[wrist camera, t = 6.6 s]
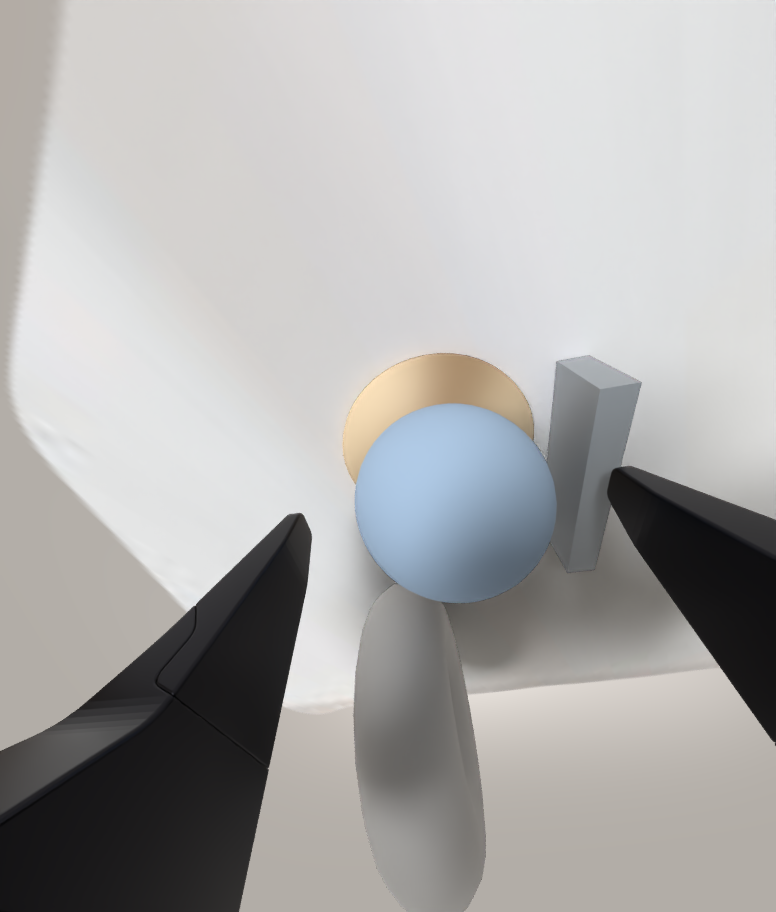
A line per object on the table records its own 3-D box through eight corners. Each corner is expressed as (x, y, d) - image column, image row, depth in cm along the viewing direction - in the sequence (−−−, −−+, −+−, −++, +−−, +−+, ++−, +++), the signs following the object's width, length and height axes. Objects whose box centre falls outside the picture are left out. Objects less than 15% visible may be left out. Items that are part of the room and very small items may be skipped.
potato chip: (536, 333, 10) (540, 335, 9) (526, 502, 13) (529, 507, 13) (319, 374, 10) (317, 377, 10) (366, 524, 14) (366, 529, 14)
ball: (513, 496, 13) (584, 635, 8) (379, 514, 13) (373, 654, 9) (516, 360, 10) (632, 458, 5) (345, 392, 11) (308, 505, 6)
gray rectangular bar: (589, 355, 10) (641, 382, 8) (564, 522, 14) (594, 569, 12) (556, 361, 10) (600, 389, 8) (541, 525, 14) (567, 573, 12)
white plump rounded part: (354, 544, 15) (307, 918, 7) (425, 530, 14) (474, 917, 6) (407, 648, 20) (418, 930, 12) (460, 640, 20) (514, 931, 11)
